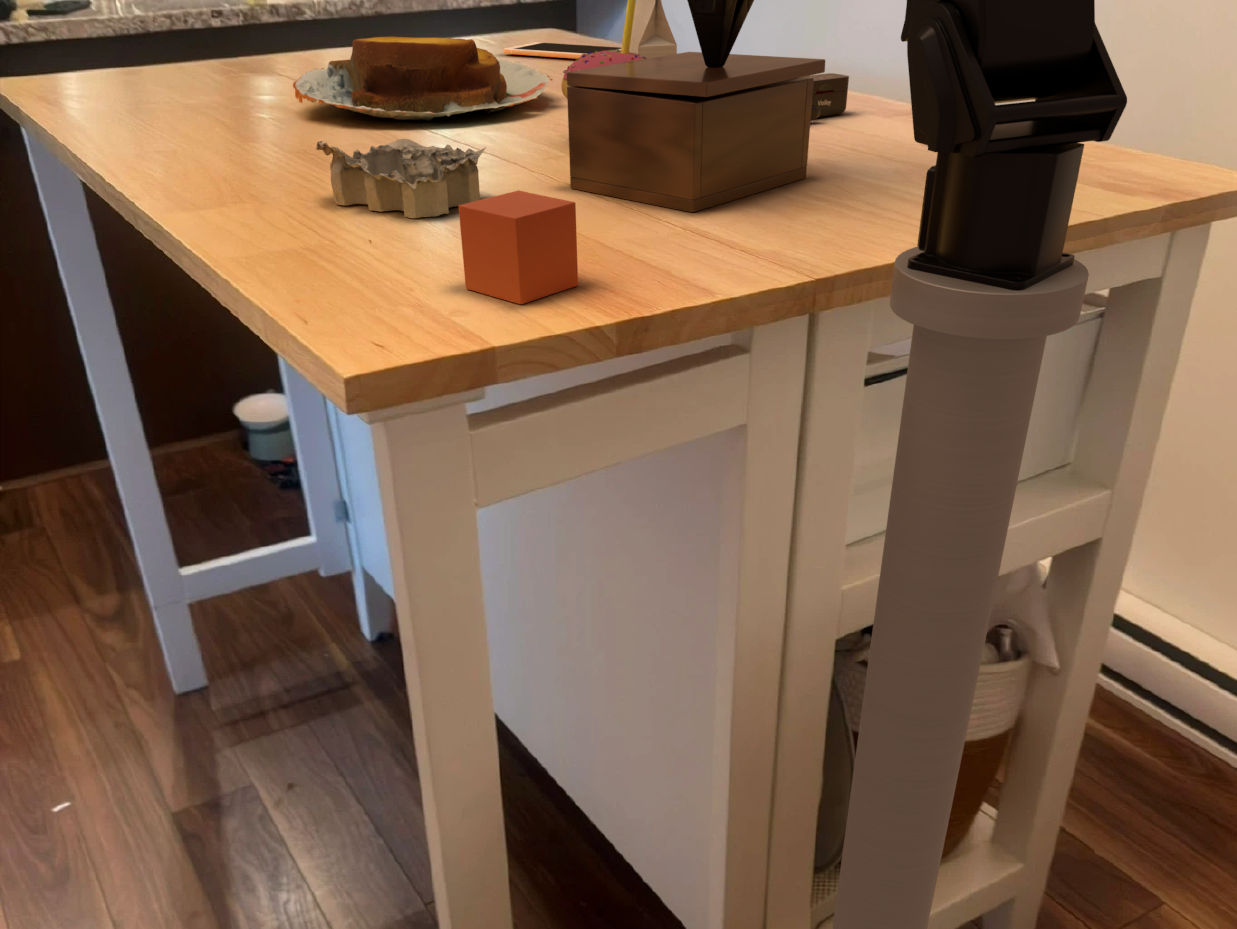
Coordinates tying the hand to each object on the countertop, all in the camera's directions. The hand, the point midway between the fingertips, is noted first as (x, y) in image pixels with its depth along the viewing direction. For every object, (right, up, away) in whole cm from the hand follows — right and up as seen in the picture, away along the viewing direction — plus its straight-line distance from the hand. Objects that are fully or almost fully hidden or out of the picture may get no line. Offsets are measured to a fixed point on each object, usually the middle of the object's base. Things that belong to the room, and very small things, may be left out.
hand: (714, 66), depth 79 cm
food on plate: (-26, +14, +35) cm, 46 cm away
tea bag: (-4, +12, +32) cm, 34 cm away
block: (-12, -20, -15) cm, 28 cm away
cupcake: (-7, +3, +19) cm, 21 cm away
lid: (-1, 0, +1) cm, 2 cm away
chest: (-1, -6, +6) cm, 8 cm away
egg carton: (-22, -9, +2) cm, 23 cm away
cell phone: (-13, +35, +66) cm, 76 cm away
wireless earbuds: (+11, +9, +27) cm, 31 cm away
